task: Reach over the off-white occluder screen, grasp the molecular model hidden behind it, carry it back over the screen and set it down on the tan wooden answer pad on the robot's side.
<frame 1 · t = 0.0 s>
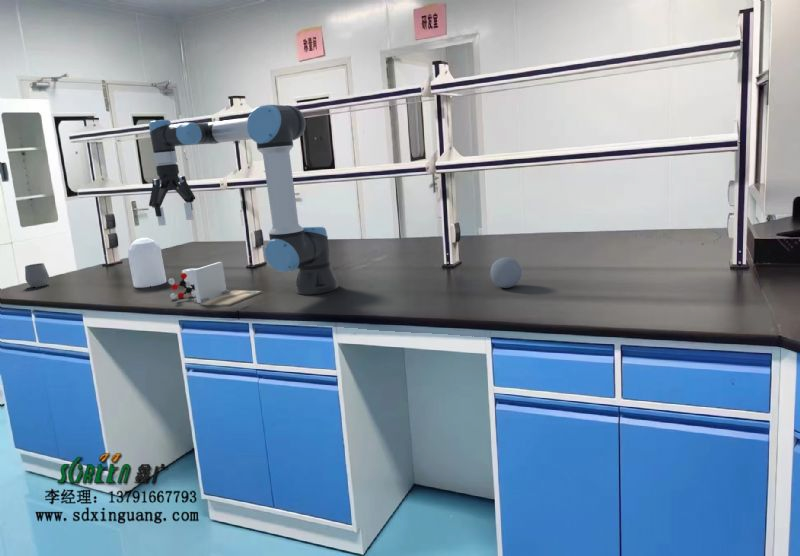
hand: (176, 222, 227), 28 cm above the worktop, fingers open, 13 cm apart
cup: (39, 286, 283), on the worktop
occluder screen: (212, 297, 226), on the worktop
white upright block: (193, 289, 244), on the worktop
answer pad: (231, 298, 222), on the worktop
container: (150, 284, 264), on the worktop
decorative stone: (506, 288, 202), on the worktop
molecular model: (188, 297, 231), on the worktop
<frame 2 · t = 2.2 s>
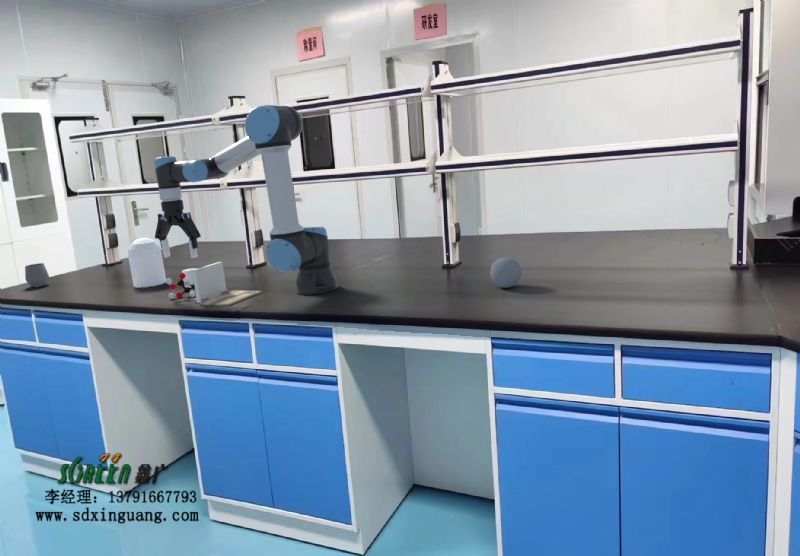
hand: (180, 257, 228), 15 cm above the worktop, fingers open, 13 cm apart
molecular model: (186, 297, 232), on the worktop
everything else where it was.
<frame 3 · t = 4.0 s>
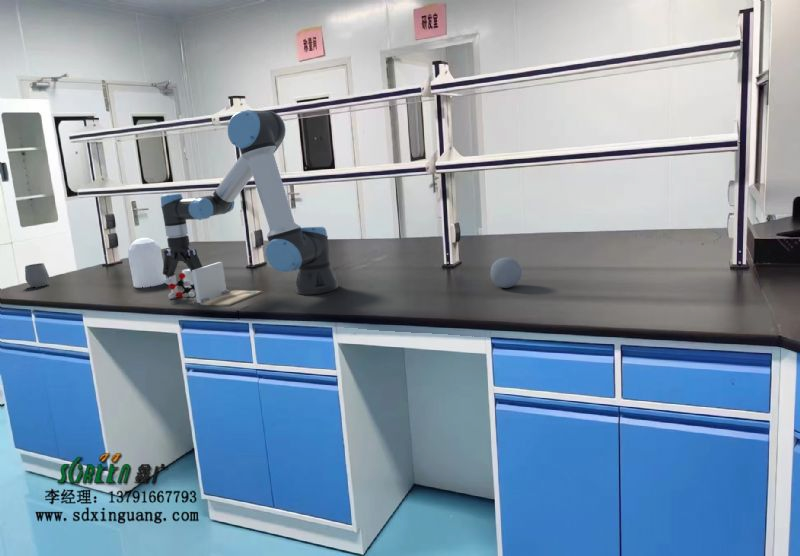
hand: (187, 293, 231), 1 cm above the worktop, fingers open, 11 cm apart
molecular model: (186, 297, 232), on the worktop, touching gripper
everything else where it was.
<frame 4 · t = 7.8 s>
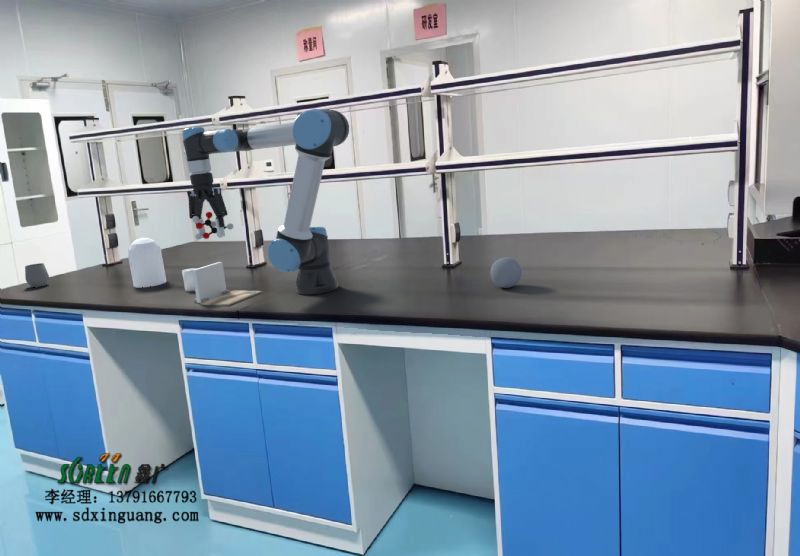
hand: (212, 237, 219), 23 cm above the worktop, fingers closed on molecular model, 8 cm apart
molecular model: (213, 238, 220), point 22 cm above the worktop, touching gripper
everything else where it was.
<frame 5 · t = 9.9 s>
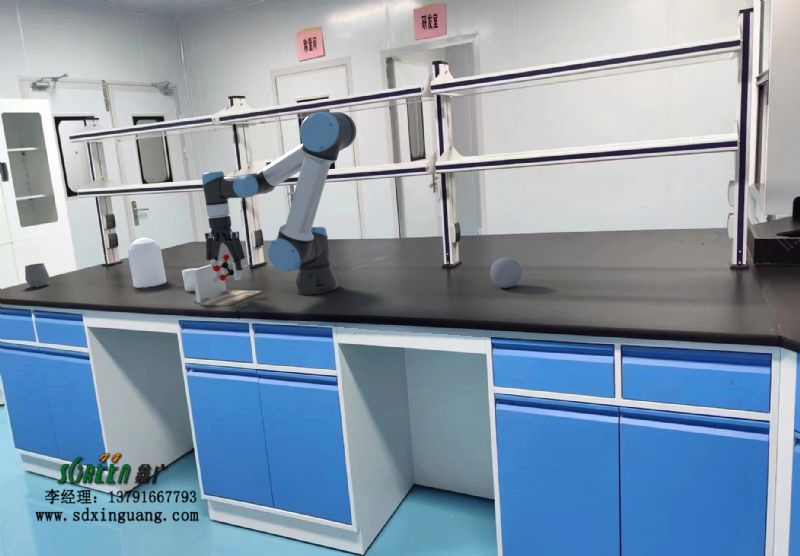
hand: (228, 279, 220), 7 cm above the worktop, fingers closed on molecular model, 8 cm apart
molecular model: (230, 280, 221), point 7 cm above the worktop, touching gripper
everything else where it was.
when the fingers open (2 cm above the worktop, at t = 11.4 s): molecular model drops 1 cm, resting on answer pad.
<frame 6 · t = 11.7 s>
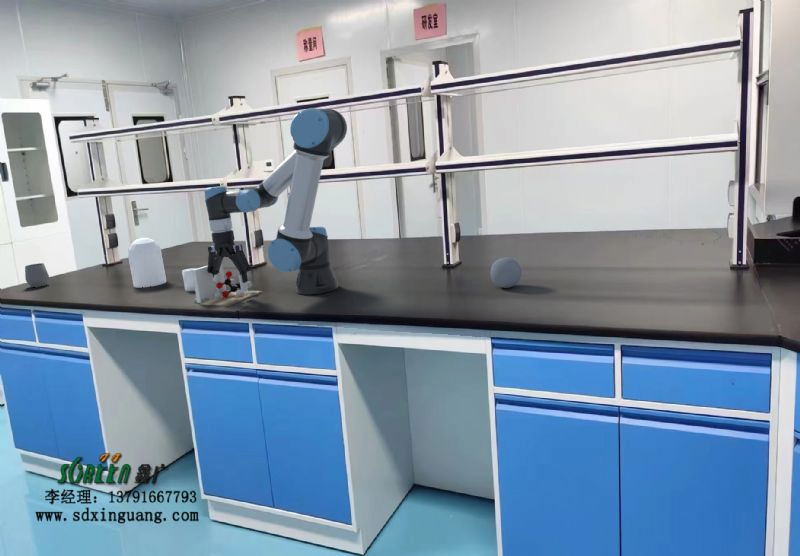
hand: (232, 291, 221), 3 cm above the worktop, fingers open, 10 cm apart
molecular model: (232, 297, 222), resting on answer pad
everything else where it was.
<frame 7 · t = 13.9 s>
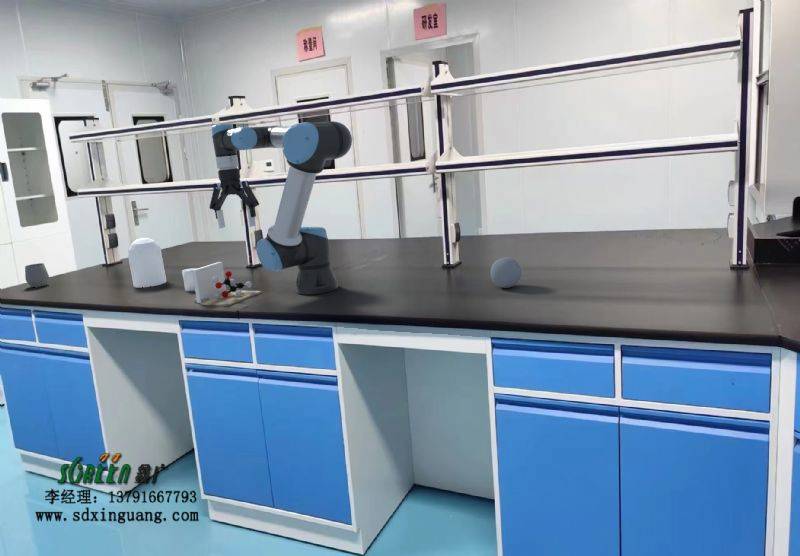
hand: (237, 227, 226), 24 cm above the worktop, fingers open, 13 cm apart
nothing on the worktop moved.
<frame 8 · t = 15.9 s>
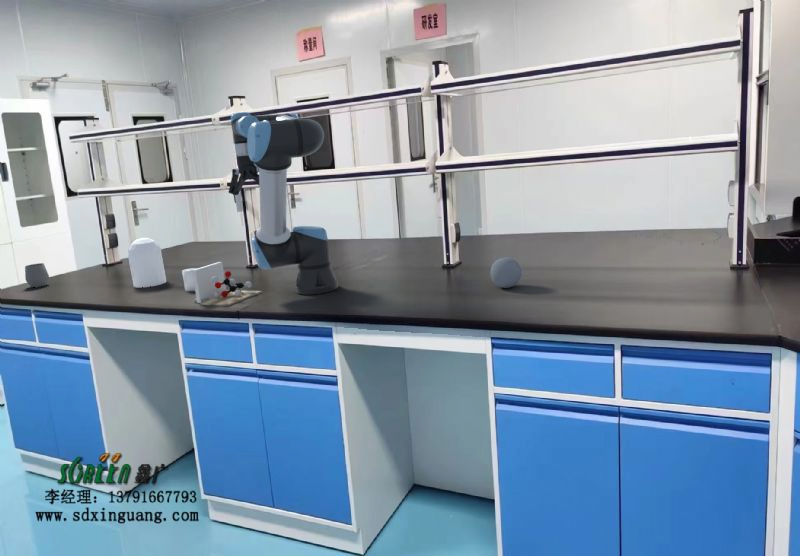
hand: (254, 210, 237), 29 cm above the worktop, fingers open, 13 cm apart
nothing on the worktop moved.
at the end: molecular model inside the target area on the answer pad (1.0 cm from its centre), point 0.4 cm above the answer pad's base; the gripper is holding nothing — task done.
